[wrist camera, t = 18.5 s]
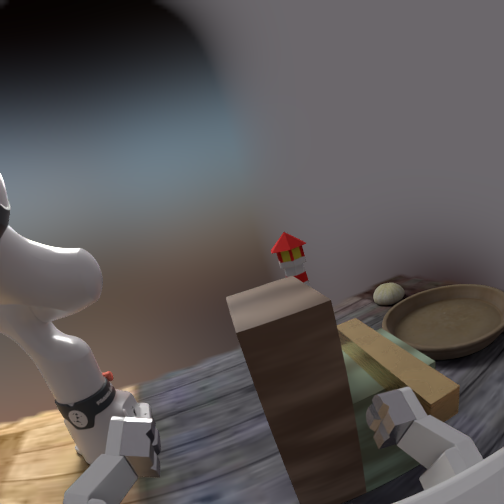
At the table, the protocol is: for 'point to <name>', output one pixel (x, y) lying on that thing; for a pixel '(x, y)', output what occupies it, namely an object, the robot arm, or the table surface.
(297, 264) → the decorative lighthouse
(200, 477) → the table surface
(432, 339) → the plant saucer
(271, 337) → the two-tone block tower
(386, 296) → the sea urchin shell
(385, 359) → the brass bar
